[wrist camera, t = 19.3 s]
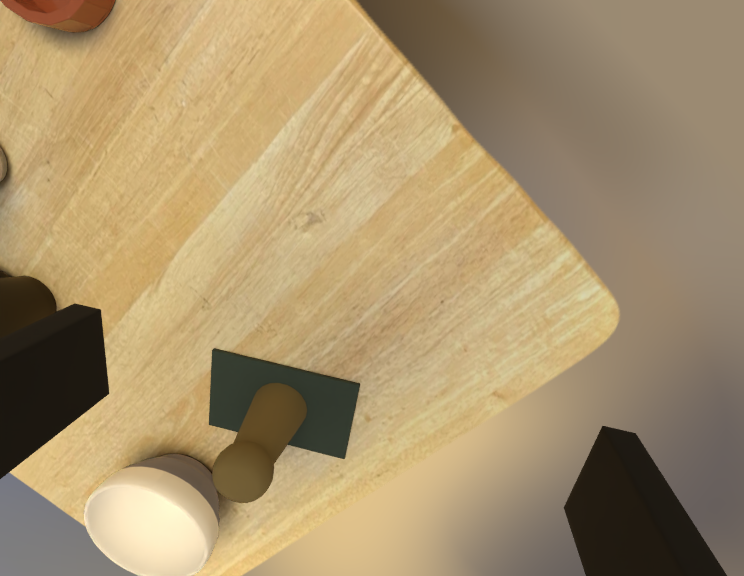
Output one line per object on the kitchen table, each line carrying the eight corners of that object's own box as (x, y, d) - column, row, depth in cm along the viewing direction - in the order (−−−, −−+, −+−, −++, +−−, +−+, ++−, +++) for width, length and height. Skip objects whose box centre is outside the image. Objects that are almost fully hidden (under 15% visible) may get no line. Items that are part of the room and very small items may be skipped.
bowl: (126, 500, 54) (80, 555, 47) (134, 416, 48) (84, 464, 41) (229, 537, 53) (199, 598, 46) (250, 457, 48) (218, 512, 41)
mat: (360, 383, 42) (359, 385, 42) (345, 456, 46) (344, 459, 46) (213, 348, 43) (212, 350, 43) (210, 422, 47) (208, 424, 47)
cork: (295, 378, 43) (252, 454, 33) (314, 425, 45) (279, 511, 34) (245, 388, 44) (188, 464, 34) (265, 432, 46) (217, 518, 36)
